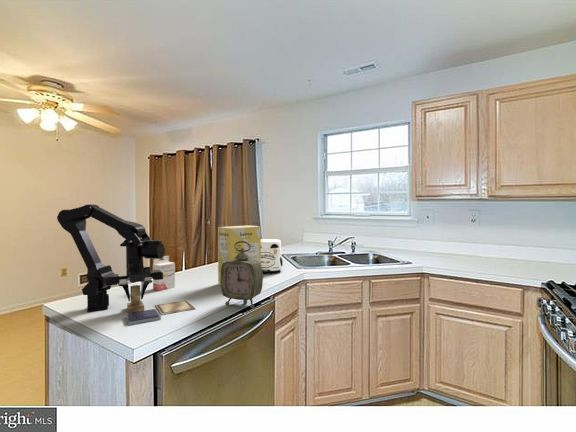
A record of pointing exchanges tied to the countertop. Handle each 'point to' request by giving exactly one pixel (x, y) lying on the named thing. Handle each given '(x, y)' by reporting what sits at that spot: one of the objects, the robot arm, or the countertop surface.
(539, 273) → the countertop surface
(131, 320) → the ink pad
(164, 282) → the ink cartridge box
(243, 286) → the tabletop clock
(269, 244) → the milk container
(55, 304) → the countertop surface
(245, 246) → the pasta box
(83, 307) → the countertop surface
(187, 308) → the marked card
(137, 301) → the stamp
